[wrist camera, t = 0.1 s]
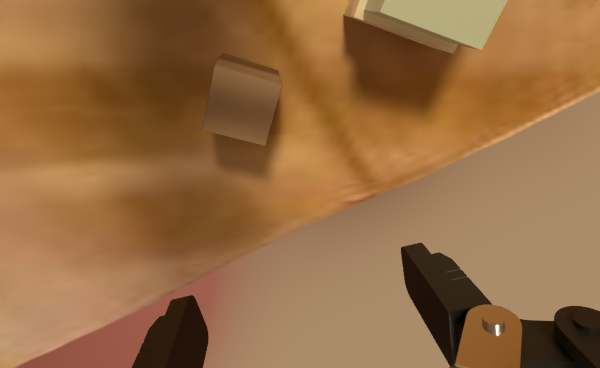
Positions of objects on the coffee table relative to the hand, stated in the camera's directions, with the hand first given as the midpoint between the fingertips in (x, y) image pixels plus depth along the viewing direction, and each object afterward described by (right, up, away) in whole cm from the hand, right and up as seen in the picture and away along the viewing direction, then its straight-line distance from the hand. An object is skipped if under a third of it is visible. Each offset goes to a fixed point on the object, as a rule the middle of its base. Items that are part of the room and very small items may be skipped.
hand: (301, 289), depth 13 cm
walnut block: (-5, +13, +18) cm, 23 cm away
